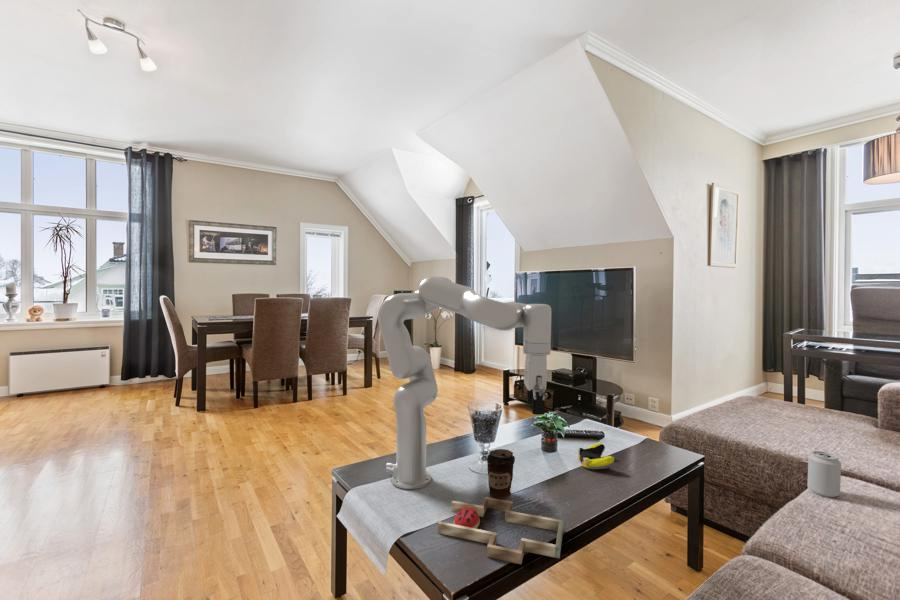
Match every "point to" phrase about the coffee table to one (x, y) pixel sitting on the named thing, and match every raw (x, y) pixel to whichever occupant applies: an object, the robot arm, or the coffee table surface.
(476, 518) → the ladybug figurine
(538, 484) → the coffee table surface
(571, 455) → the coffee table surface
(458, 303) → the robot arm
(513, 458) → the coffee cup
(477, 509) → the trap channel
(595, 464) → the banana bunch
